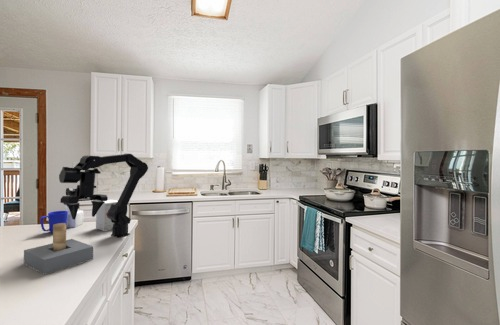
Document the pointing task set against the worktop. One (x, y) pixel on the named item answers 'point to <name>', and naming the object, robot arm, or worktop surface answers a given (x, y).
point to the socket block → (57, 256)
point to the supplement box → (104, 216)
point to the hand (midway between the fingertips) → (83, 217)
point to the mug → (55, 219)
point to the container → (77, 220)
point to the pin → (59, 237)
